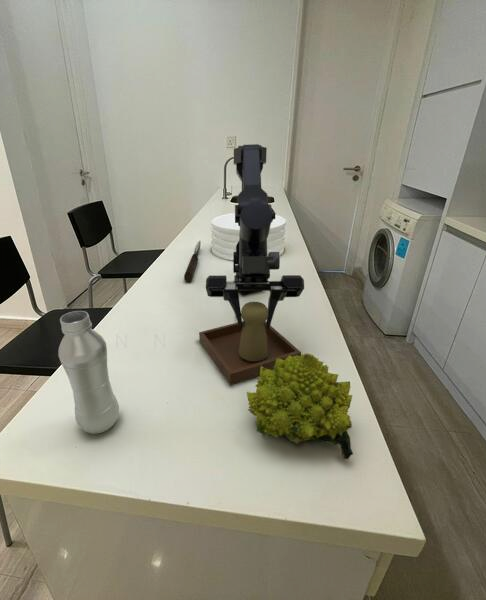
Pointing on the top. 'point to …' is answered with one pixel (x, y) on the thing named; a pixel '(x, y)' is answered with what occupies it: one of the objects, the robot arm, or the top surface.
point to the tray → (226, 351)
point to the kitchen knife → (192, 264)
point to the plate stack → (228, 233)
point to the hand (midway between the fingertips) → (254, 328)
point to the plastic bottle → (87, 373)
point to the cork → (253, 332)
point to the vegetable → (302, 402)
